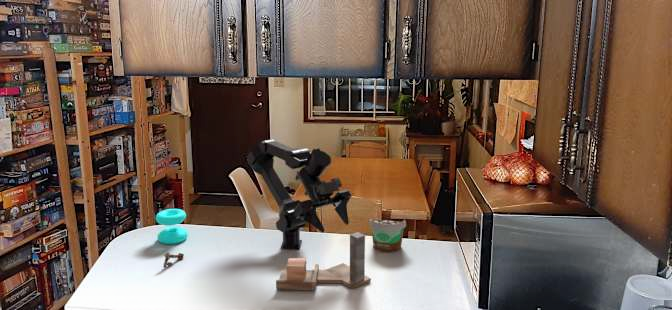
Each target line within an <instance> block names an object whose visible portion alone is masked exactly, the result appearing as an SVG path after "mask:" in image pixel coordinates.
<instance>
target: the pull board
mask: <svg viewBox="0 0 672 310" xmlns="http://www.w3.org/2000/svg"><path fill="white" fill-rule="evenodd" d="M365 254H366V234H363V233H361V232H358V231H357V232H355V233H351V234H349V265H348V264H345V263H344V262H342V263H339V264H337V265H334V266H331V267H330V268H329V267H328V268H327V269H319V268H320V265H319V264H320V263H316V264H315V265H314V269H311V270H309V269H308V270H307V269H306V278H305V280H287V269H281V273H280V275H279V279H276V281H275V288H276V290H280V291H281V290H282V291H283V290H284V291H285V290H286V291H289V290H290V291H313V290H317V289H316V288H317V283H318V284H319V283H320V284H323V283H324V284H328V283H329V284H343V285H345V286H346V287H348V288H350V289H351V290H354V289H356V288H358V287H361V286H364V285H365V284H368V283H370V282H371V280H372V279H371V277H369V276H367V275H365V272H366V271H365V264H366V261H365V260H366V255H365Z"/></svg>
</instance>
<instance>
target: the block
mask: <svg viewBox="0 0 672 310" xmlns="http://www.w3.org/2000/svg"><path fill="white" fill-rule="evenodd" d="M286 263H287V264H286V266H285V267H286V270H287V280H305V278H306V270H307V258H300V257H299V258H294V257H293V258H291V257H290V258H289V257H288V260H287V262H286Z"/></svg>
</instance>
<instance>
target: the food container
mask: <svg viewBox="0 0 672 310" xmlns="http://www.w3.org/2000/svg"><path fill="white" fill-rule="evenodd" d="M368 224H369V226H370V227H371V237H372V245H373V248H374V250H376V251H378V252H382V253H394V252H397V251H399V250H400V249H401V248H402V244H403V237H404V229H405V228H406V227H407V221H406V219H404V220H402V221H395V220H392V219H381V220H379V219H372V218H370V219H369V222H368Z"/></svg>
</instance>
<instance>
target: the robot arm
mask: <svg viewBox="0 0 672 310" xmlns="http://www.w3.org/2000/svg"><path fill="white" fill-rule="evenodd" d="M275 157H276V158H279V159H281V160H283V161H284V164H285V165H286V166H287V167H288V168H290V169H291V170H297V169H300V170H298V171H296V175H295V181H300V183H301V185H302V186H303V189H304V191H305V192H304V195H305V196H306V197H308V198H309V199H306V200H303V201H300V200H299V199H297V200H293V198H292V196H290V194H289V192H288V189H286V187H285V185H284V184H283V181H282V180H281V177H279V175H278V173H277V171H276V170H275V168H274V164H275V163H274V161H275V160H274V158H275ZM246 161H247V164H248V165H249V167H250V169H252V171H253V172H255V173H257V174H259V175H260V176H261V177H262V180H263V181H264V182H265V184H266V187H267V188H268V189H269V192H270V193H271V195H272V197H273V199H274V200H275V202H276V204H277V205H278V207H279V209H278V217H279V218H278V219H277V221H276V223H275V226H276V230H277V231H280V232H281V233H282V241H281V242H282V243H281V245H280V249H282V250H289V249H290V250H300V249H301V247H302V246H301V245H302V243H303V239H301V238H300V237H301V236H300V231H301V230H300V229H302V228H305V227H306V226H307V225H306V224H310V225H311V226H313V227H314V228H315V229H317V230H318V231H320V233H324V232H325V227H324V226H323V224H322V221H321V219H320V217H319V216H318V213H317V209H320V208H323V207H327V206H330V205H332V206H333V207H335V208H334V210H335V212H336V213H337V215H338V216H339V218H340V220H341V221H342V222H343V223H344V224H345V225H346V226H348V225H349V223H350V221H349V215H348V203H349V201H350V200H351V198H352V197H353V195H352V194H351V192H350V191H349V190H348V189H343V190H340V188H341V187H343V184H342V181H341V179H340V177H338V176H336V177H334V178H331V179H330V181H328V182H327V181H326V180H322V179H321V177H320V176H322V175H323V174H324V173H325V171H326V170H327V168H328V167H329V166H330V165H331V163H332V159H331V156H330V155H329V154H328V153H327V152H325V151H323V150H321V149H320V148H319V147H316V148H313V149H312V151H310V150H309V149H308V148H307V147H306V148H305V147H304V148H303V147H291V146H289V145H286V144H284V143H281V142H278V141H276V139H267V140H262V141H260V142H259V144H257V145H256V146H255V147H254V148H252V149H251V150H250V151H249V153H248V154H247V157H246ZM334 192H336V194H334ZM333 195H334V196H333ZM332 196H333V197H332Z"/></svg>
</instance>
